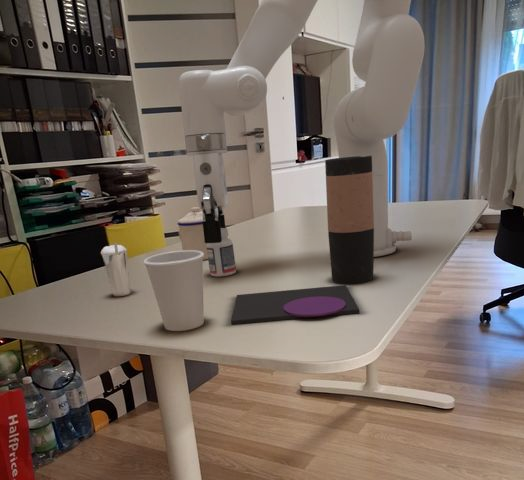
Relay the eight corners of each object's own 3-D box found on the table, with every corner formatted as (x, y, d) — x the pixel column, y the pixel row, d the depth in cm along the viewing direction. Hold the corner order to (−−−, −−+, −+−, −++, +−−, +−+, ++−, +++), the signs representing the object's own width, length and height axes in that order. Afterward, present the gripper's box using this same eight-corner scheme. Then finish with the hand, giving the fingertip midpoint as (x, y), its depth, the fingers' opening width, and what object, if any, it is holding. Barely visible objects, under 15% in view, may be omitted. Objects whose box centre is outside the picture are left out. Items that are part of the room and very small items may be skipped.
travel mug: (326, 284, 89) (319, 161, 82) (335, 273, 96) (330, 158, 89) (371, 284, 87) (368, 156, 79) (378, 273, 93) (375, 154, 86)
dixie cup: (163, 338, 71) (150, 265, 67) (150, 323, 78) (137, 256, 74) (220, 325, 73) (211, 255, 70) (203, 312, 81) (193, 247, 77)
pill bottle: (238, 270, 107) (233, 226, 104) (233, 276, 102) (227, 230, 99) (214, 271, 108) (208, 228, 105) (207, 277, 104) (201, 232, 100)
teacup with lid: (228, 254, 125) (222, 204, 121) (198, 262, 119) (191, 210, 115) (197, 251, 133) (191, 204, 129) (168, 258, 128) (160, 210, 123)
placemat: (345, 288, 86) (345, 283, 85) (361, 316, 71) (361, 310, 71) (237, 298, 87) (236, 293, 86) (230, 328, 72) (229, 321, 72)
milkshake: (113, 299, 94) (102, 244, 90) (107, 294, 98) (96, 241, 95) (138, 294, 96) (128, 240, 92) (131, 289, 100) (121, 237, 97)
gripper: (222, 143, 89) (231, 244, 95) (229, 145, 105) (237, 231, 111) (178, 146, 89) (190, 247, 95) (192, 148, 105) (202, 234, 111)
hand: (215, 238), depth 103 cm, fingers open, 9 cm apart
